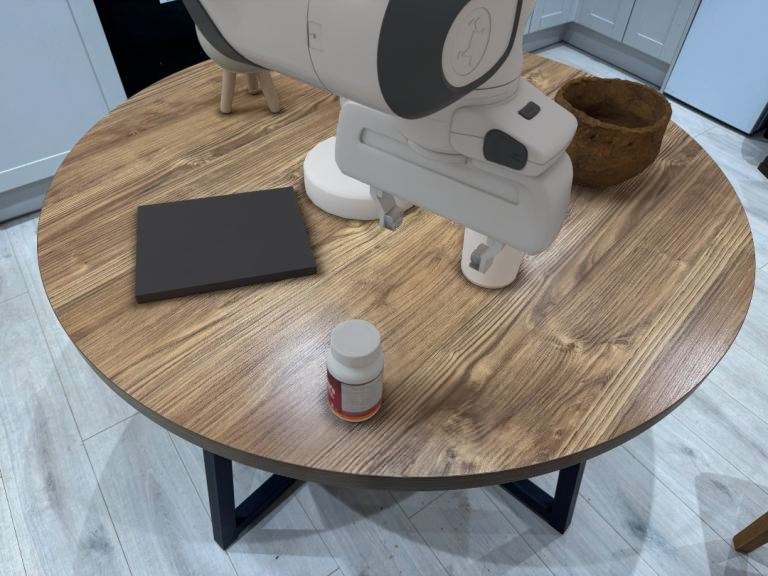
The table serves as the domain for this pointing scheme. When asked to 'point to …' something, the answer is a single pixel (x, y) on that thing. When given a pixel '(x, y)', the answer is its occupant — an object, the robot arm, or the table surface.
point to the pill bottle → (355, 370)
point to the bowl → (613, 128)
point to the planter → (236, 67)
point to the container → (338, 186)
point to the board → (220, 243)
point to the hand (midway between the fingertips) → (434, 245)
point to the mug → (501, 267)
